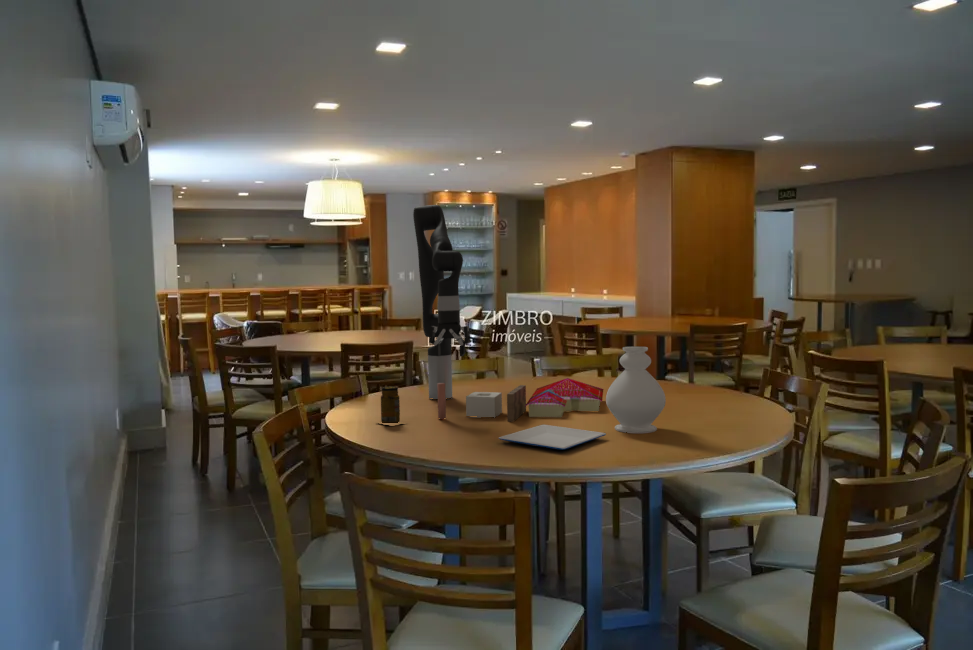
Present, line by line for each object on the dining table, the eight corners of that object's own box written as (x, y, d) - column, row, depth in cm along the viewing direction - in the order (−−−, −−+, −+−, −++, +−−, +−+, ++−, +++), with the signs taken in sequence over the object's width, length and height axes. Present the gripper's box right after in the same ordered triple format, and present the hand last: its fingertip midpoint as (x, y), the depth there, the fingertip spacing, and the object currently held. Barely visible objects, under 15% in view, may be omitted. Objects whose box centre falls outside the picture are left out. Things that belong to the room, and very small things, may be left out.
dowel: (439, 418, 247) (438, 383, 246) (447, 418, 246) (446, 383, 245) (437, 419, 244) (436, 384, 243) (444, 420, 243) (443, 384, 243)
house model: (601, 419, 241) (601, 388, 240) (524, 418, 245) (524, 388, 245) (603, 400, 278) (603, 373, 278) (537, 399, 283) (536, 373, 282)
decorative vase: (594, 429, 225) (593, 348, 223) (631, 420, 236) (630, 343, 234) (640, 438, 211) (640, 352, 209) (677, 429, 222) (677, 347, 221)
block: (474, 411, 258) (474, 391, 257) (502, 412, 255) (501, 392, 254) (466, 417, 248) (465, 396, 247) (494, 417, 245) (494, 397, 245)
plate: (542, 430, 225) (542, 424, 225) (606, 439, 210) (606, 432, 210) (497, 444, 207) (497, 437, 207) (563, 455, 193) (563, 447, 193)
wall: (520, 410, 258) (520, 385, 258) (526, 410, 258) (525, 385, 257) (507, 421, 239) (506, 394, 238) (513, 421, 239) (512, 394, 238)
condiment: (394, 420, 245) (393, 385, 244) (408, 424, 238) (407, 387, 237) (375, 423, 240) (374, 387, 239) (389, 427, 233) (387, 390, 233)
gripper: (471, 308, 252) (473, 355, 253) (433, 309, 257) (434, 355, 258) (464, 309, 245) (466, 357, 246) (425, 309, 249) (426, 357, 250)
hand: (450, 356), depth 252 cm, fingers open, 8 cm apart
